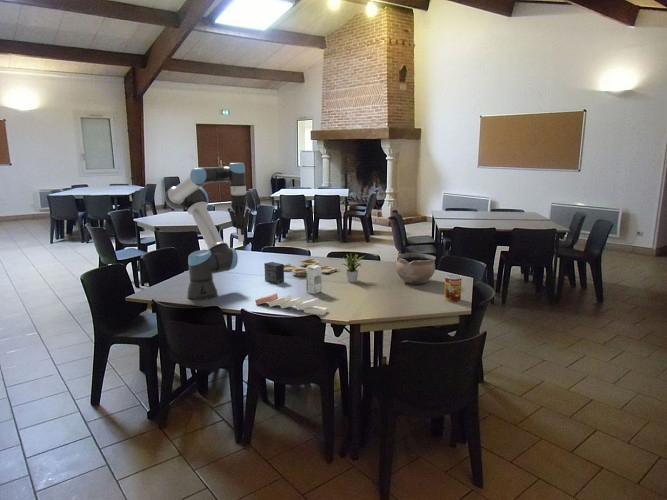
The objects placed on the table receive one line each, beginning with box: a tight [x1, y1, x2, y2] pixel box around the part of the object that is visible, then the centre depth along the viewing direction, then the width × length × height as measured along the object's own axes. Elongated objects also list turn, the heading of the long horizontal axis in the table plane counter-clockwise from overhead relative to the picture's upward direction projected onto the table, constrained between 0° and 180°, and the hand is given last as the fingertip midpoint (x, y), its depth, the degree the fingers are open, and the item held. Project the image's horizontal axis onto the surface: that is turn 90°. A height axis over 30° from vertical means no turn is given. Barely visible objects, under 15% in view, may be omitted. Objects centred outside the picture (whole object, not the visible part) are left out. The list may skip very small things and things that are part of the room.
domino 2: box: [267, 294, 292, 308], centre depth 240 cm, size 2×5×10 cm
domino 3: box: [279, 297, 304, 309], centre depth 237 cm, size 2×5×10 cm
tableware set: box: [284, 257, 339, 277], centre depth 310 cm, size 35×29×4 cm
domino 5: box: [303, 305, 329, 316], centre depth 233 cm, size 2×5×10 cm
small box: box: [263, 261, 285, 284], centre depth 285 cm, size 11×6×10 cm, turn 47°
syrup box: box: [305, 264, 322, 295], centre depth 262 cm, size 6×6×14 cm
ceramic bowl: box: [395, 252, 437, 285], centre depth 278 cm, size 22×22×15 cm
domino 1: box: [254, 293, 279, 305], centre depth 244 cm, size 2×5×10 cm
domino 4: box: [295, 297, 321, 311], centre depth 233 cm, size 2×5×10 cm
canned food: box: [444, 274, 463, 303], centre depth 246 cm, size 8×8×12 cm
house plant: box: [341, 252, 365, 283], centre depth 281 cm, size 14×14×16 cm
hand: (241, 241), depth 251 cm, fingers closed
